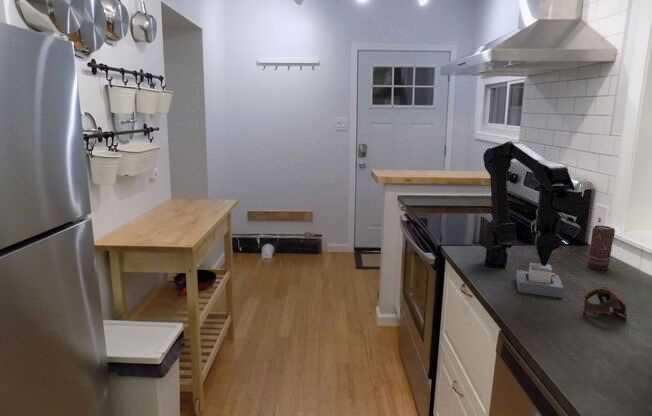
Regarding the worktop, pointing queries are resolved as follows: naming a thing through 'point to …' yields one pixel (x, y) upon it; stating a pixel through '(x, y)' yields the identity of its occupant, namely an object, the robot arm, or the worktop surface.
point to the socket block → (539, 285)
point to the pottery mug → (604, 302)
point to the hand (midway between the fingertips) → (541, 260)
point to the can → (601, 247)
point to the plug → (540, 273)
